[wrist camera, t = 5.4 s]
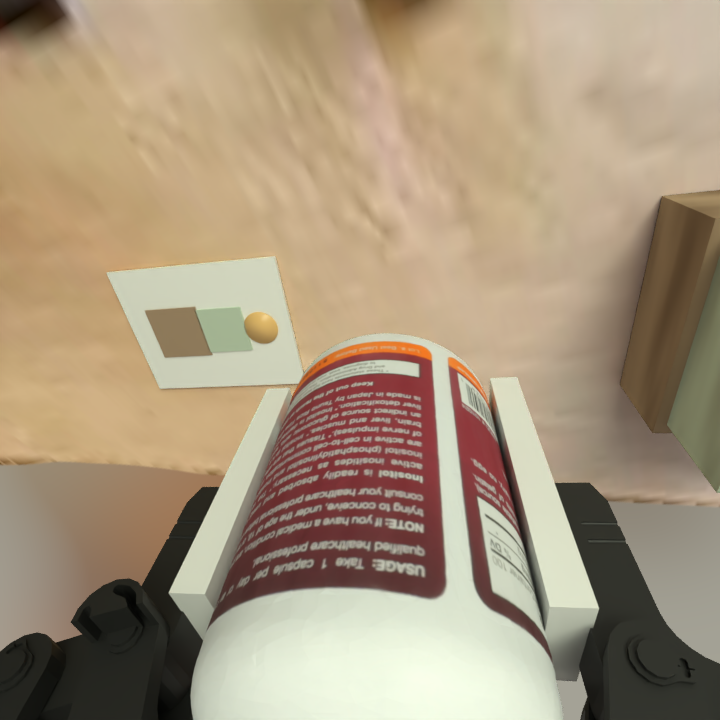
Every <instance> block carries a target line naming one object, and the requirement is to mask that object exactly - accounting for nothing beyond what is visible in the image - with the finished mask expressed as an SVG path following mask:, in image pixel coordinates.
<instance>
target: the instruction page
mask: <svg viewBox="0 0 720 720" xmlns="http://www.w3.org/2000/svg"><path fill="white" fill-rule="evenodd" d="M107 275H108V277H109V280H110V282H111V284H112V286H113V288H114V290H115V293H116V295H117V297H118V299H119V301H120V303H121V306H122V308H123V310H124V312H125V314H126V316H127V318H128V321H129V323H130V325H131V327H132V329H133V331H134V334H135V336H136V338H137V340H138V342H139V344H140V347H141V349H142V351H143V353H144V355H145V357H146V360H147V362H148V364H149V366H150V368H151V370H152V372H153V375H154V377H155V379H156V381H157V383H158V385H159V388H160V389H167V388H195V387H222V386H249V385H276V384H298V383H299V381H300V379H301V377H302V375H303V374H304V372H303V367H302V363H301V359H300V355H299V351H298V347H297V343H296V338H295V334H294V330H293V326H292V322H291V318H290V314H289V310H288V305H287V301H286V297H285V293H284V289H283V285H282V281H281V277H280V272H279V268H278V264H277V260H276V256H271V257H260V258H250V259H239V260H229V261H218V262H208V263H197V264H187V265H176V266H166V267H155V268H145V269H134V270H124V271H113V272H108V273H107Z"/></svg>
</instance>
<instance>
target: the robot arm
mask: <svg viewBox="0 0 720 720" xmlns="http://www.w3.org/2000/svg"><path fill="white" fill-rule="evenodd" d="M291 399H292V395H291V391H290V388H278V389H267V390H266V392H265V395H264V397H263V399H262V401H261V403H260V405H259V407H258V409H257V411H256V413H255V415H254V417H253V419H252V421H251V423H250V426H249V428H248V430H247V432H246V434H245V436H244V438H243V440H242V442H241V444H240V446H239V448H238V450H237V452H236V454H235V457H234V459H233V461H232V463H231V465H230V467H229V469H228V471H227V473H226V475H225V477H224V479H223V481H222V483H221V485H220V487H202V488H201V489H200V490H199V491H198V492H197V493H196V494H195V495H194V496H193V497H192V498H191V499H190V500H189V501H188V502H187V504H186V506H185V507H184V509H183V511H182V513H181V515H180V517H179V518H178V520H177V524H176V525H175V526H174V528H173V530H172V531H171V533H170V535H169V539H167V540H166V542H165V544H164V546H163V548H162V550H161V551H160V553H159V555H158V557H157V559H156V561H155V562H154V564H153V566H152V568H151V570H150V572H149V573H148V576H147V577H146V579H145V581H144V583H143V585H142V586H140V584H139V583H138V582H136V581H134V580H131V579H119V580H115V581H113V582H111V583H108V584H106V585H103V586H102V587H101V588H99V589H98V590H96V591H95V592H94V593H92V594H91V595H90V596H89V597H88V598H87V599H86V600H85V601H84V602H83V604H82V605H81V606H80V607H79V608H78V610H77V612H76V614H75V616H74V617H73V619H72V621H71V623H72V624H73V625H74V626H75V627H76V628H77V629H78V630H79V631H80V632H81V633H82V635H79V636H76V637H73V638H70V639H66V640H63V641H60V642H57V643H55V642H54V641H53V640H52V639H51V638H50V637H49V636H47V635H45V634H41V633H33V634H29V635H25V636H23V637H21V638H19V639H17V640H16V641H14V642H12V643H10V644H9V645H8V646H6V647H5V648H4V649H3V650H2V651H0V720H193V716H192V709H191V696H190V695H191V685H192V678H193V672H194V668H195V665H196V661H197V658H198V655H199V653H200V649H201V646H202V643H203V640H204V637H205V633H206V630H207V628H208V625H209V623H210V620H211V617H212V614H213V611H214V609H215V606H216V604H217V601H218V599H219V596H220V593H221V590H222V587H223V585H224V582H225V580H226V577H227V574H228V572H229V569H230V566H231V563H232V560H233V558H234V555H235V552H236V550H237V547H238V544H239V541H240V538H241V536H242V533H243V530H244V527H245V524H246V522H247V519H248V517H249V514H250V512H251V509H252V505H253V502H254V500H255V498H256V494H257V492H258V489H259V487H260V484H261V481H262V479H263V476H264V473H265V470H266V468H267V465H268V462H269V460H270V457H271V454H272V451H273V449H274V446H275V443H276V440H277V438H278V435H279V432H280V429H281V427H282V424H283V421H284V419H285V416H286V413H287V410H288V408H289V405H290V402H291ZM489 405H490V410H491V414H492V418H493V422H494V426H495V430H496V434H497V438H498V442H499V447H500V451H501V455H502V459H503V463H504V467H505V471H506V475H507V479H508V484H509V488H510V492H511V496H512V500H513V504H514V508H515V512H516V516H517V520H518V524H519V528H520V531H521V536H522V540H523V544H524V549H525V552H526V556H527V560H528V564H529V568H530V572H531V576H532V580H533V585H534V589H535V593H536V598H537V601H538V604H539V609H540V613H541V618H542V622H543V626H544V629H545V633H546V637H547V641H548V645H549V649H550V652H551V656H552V661H553V666H554V670H555V676H556V680H563V681H577V677H578V674H579V671H580V672H581V675H582V678H583V682H584V686H585V689H586V692H587V696H588V697H587V700H586V703H585V705H584V708H583V711H582V715H581V719H580V720H720V664H719V663H717V662H714V661H712V660H710V659H708V658H705V657H704V656H702V655H701V654H699V653H698V652H696V651H694V650H693V649H691V648H690V647H689V646H688V645H686V644H685V643H684V642H683V641H682V640H681V639H679V638H678V637H677V636H676V635H675V633H674V632H673V631H672V630H671V629H670V628H669V627H668V625H667V624H666V622H665V621H664V619H663V617H662V616H661V614H660V612H659V610H658V608H657V606H656V604H655V602H654V600H653V597H652V595H651V593H650V591H649V589H648V587H647V585H646V582H645V580H644V578H643V576H642V574H641V572H640V570H639V567H638V565H637V563H636V561H635V559H634V557H633V555H632V553H631V550H630V548H629V546H628V544H626V542H625V537H624V535H623V533H622V531H621V529H620V527H619V526H618V525H617V520H616V518H615V516H614V514H613V512H612V510H611V508H610V505H609V503H608V501H607V500H606V499H605V498H604V497H603V496H602V495H601V494H600V493H599V492H598V491H597V490H596V489H595V488H594V487H593V486H592V485H591V484H590V483H554V480H553V477H552V474H551V472H550V469H549V466H548V463H547V460H546V458H545V455H544V452H543V449H542V446H541V444H540V441H539V438H538V435H537V432H536V429H535V427H534V424H533V421H532V418H531V415H530V413H529V410H528V407H527V404H526V401H525V398H524V396H523V393H522V390H521V387H520V384H519V382H518V379H517V377H506V378H490V396H489Z"/></svg>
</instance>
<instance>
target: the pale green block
mask: <svg viewBox="0 0 720 720" xmlns="http://www.w3.org/2000/svg"><path fill="white" fill-rule="evenodd" d="M620 385H621V387H622V388H623V390H624V391H625V393H626V394H627V396H628V397H629V399H630V400H631V402H632V403H633V405H634V406H635V408H636V409H637V411H638V412H639V414H640V415H641V417H642V418H643V420H644V421H645V422H646V424H647V425H648V427H649V428H650V430H651V431H652V433H673V434H674V435H675V437H676V438H677V439H678V441H679V442H680V443H681V445H682V446H683V447H684V449H685V450H686V451H687V453H688V454H689V456H690V457H691V458H692V460H693V461H694V462H695V464H696V465H697V466H698V468H699V469H700V470H701V472H702V473H703V475H704V476H705V477H706V479H707V480H708V481H709V483H710V484H711V485H712V487H713V488H714V490H715V491H716V492H717V493H720V190H717V191H707V192H698V193H688V194H679V195H669V196H662V199H661V203H660V208H659V212H658V217H657V221H656V226H655V230H654V235H653V239H652V244H651V248H650V253H649V257H648V262H647V266H646V271H645V275H644V280H643V284H642V289H641V293H640V297H639V302H638V306H637V311H636V315H635V320H634V324H633V329H632V333H631V338H630V342H629V347H628V351H627V356H626V360H625V365H624V369H623V374H622V378H621V383H620Z"/></svg>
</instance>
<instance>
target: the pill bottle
mask: <svg viewBox="0 0 720 720" xmlns="http://www.w3.org/2000/svg"><path fill="white" fill-rule="evenodd" d="M190 696H191V709H192V716H193V720H563V708H562V704H561V699H560V695H559V691H558V686H557V682H556V676H555V670H554V666H553V661H552V656H551V652H550V649H549V645H548V641H547V637H546V633H545V629H544V626H543V622H542V618H541V613H540V609H539V604H538V601H537V598H536V593H535V589H534V585H533V580H532V576H531V572H530V568H529V564H528V560H527V556H526V552H525V549H524V544H523V540H522V536H521V531H520V528H519V524H518V520H517V516H516V512H515V508H514V504H513V500H512V496H511V492H510V488H509V484H508V479H507V475H506V471H505V467H504V463H503V459H502V455H501V451H500V447H499V442H498V438H497V434H496V430H495V426H494V422H493V418H492V414H491V410H490V405H489V403H488V400H487V397H486V394H485V392H484V389H483V387H482V385H481V383H480V381H479V380H478V378H477V376H476V375H475V374H474V372H473V371H472V370H471V368H470V367H469V366H468V365H467V364H466V363H465V362H464V361H463V360H461V359H460V358H459V357H458V356H456V355H455V354H454V353H452V352H451V351H449V350H447V349H446V348H444V347H442V346H440V345H438V344H436V343H434V342H431V341H428V340H426V339H423V338H419V337H415V336H409V335H403V334H392V333H382V334H370V335H364V336H360V337H356V338H352V339H349V340H346V341H344V342H341V343H339V344H337V345H335V346H333V347H331V348H330V349H328V350H327V351H325V352H324V353H322V354H321V355H320V356H319V357H318V358H317V359H316V360H314V362H313V363H312V364H311V365H310V366H309V367H308V368H307V370H306V371H305V373H304V374H303V375H302V377H301V379H300V381H299V383H298V385H297V388H296V390H295V392H294V394H293V396H292V399H291V402H290V405H289V408H288V410H287V413H286V416H285V419H284V421H283V424H282V427H281V429H280V432H279V435H278V438H277V440H276V443H275V446H274V449H273V451H272V454H271V457H270V460H269V462H268V465H267V468H266V470H265V473H264V476H263V479H262V481H261V484H260V487H259V489H258V492H257V494H256V498H255V500H254V502H253V505H252V509H251V512H250V514H249V517H248V519H247V522H246V524H245V527H244V530H243V533H242V536H241V538H240V541H239V544H238V547H237V550H236V552H235V555H234V558H233V560H232V563H231V566H230V569H229V572H228V574H227V577H226V580H225V582H224V585H223V587H222V590H221V593H220V596H219V599H218V601H217V604H216V606H215V609H214V611H213V614H212V617H211V620H210V623H209V625H208V628H207V630H206V633H205V637H204V640H203V643H202V646H201V649H200V653H199V655H198V658H197V661H196V665H195V668H194V672H193V678H192V685H191V695H190Z"/></svg>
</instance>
